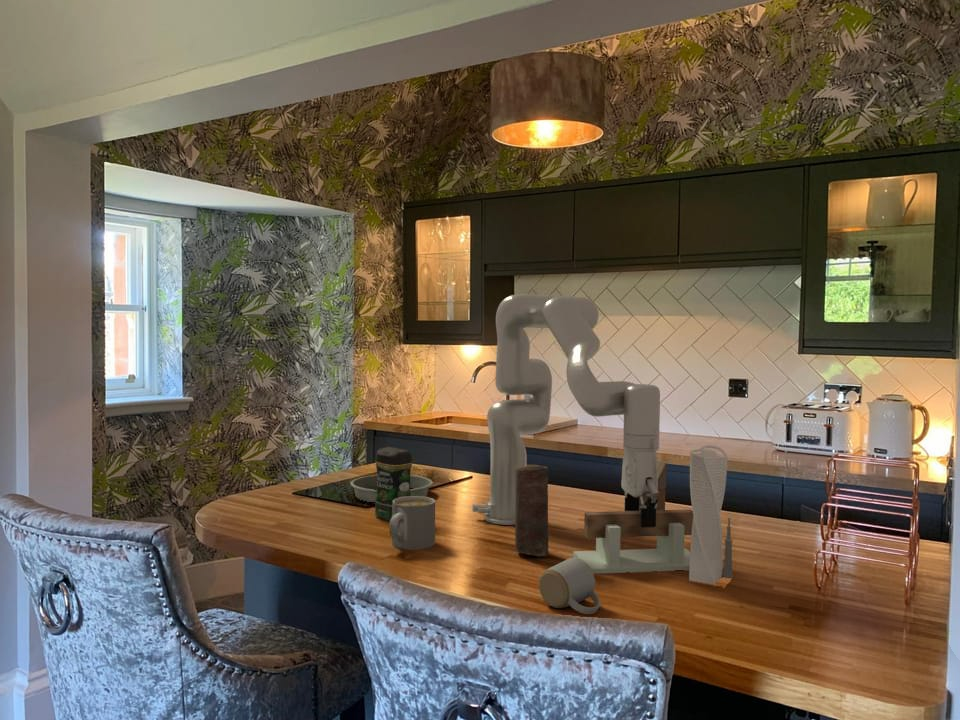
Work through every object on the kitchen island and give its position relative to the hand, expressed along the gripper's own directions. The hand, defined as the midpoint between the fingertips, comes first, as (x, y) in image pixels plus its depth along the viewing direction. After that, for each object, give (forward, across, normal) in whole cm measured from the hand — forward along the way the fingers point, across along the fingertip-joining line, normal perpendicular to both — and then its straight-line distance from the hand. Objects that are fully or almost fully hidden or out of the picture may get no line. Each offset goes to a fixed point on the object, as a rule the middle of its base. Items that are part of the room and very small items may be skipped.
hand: (639, 520), depth 155 cm
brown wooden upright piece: (+9, -38, +17) cm, 43 cm away
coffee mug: (+9, -18, -49) cm, 53 cm away
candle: (+9, -8, -22) cm, 25 cm away
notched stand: (+9, 0, 0) cm, 9 cm away
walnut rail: (+3, 0, 0) cm, 3 cm away
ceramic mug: (+9, +22, -21) cm, 32 cm away
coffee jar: (+9, -43, -52) cm, 68 cm away
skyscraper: (+10, +12, +10) cm, 18 cm away
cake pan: (+10, -69, -52) cm, 87 cm away
